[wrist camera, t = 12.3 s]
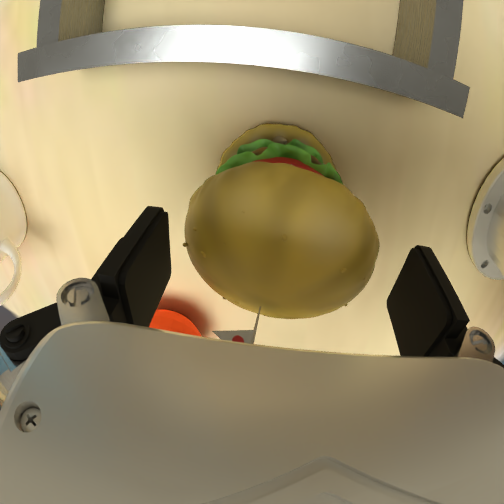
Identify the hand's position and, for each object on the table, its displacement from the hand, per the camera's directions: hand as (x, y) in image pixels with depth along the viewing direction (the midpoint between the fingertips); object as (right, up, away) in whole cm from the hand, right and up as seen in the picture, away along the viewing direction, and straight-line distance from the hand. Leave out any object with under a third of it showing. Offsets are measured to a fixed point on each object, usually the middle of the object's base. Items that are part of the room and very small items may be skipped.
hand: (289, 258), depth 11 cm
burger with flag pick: (0, +5, +7) cm, 9 cm away
